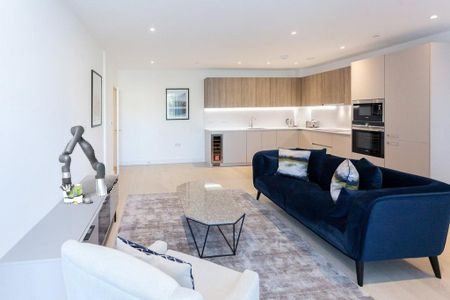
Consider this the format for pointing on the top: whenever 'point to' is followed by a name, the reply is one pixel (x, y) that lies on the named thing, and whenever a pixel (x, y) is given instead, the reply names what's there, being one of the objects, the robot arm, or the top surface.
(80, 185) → the tea box
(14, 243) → the top surface
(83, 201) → the plate
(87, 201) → the grey rounded-end block
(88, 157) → the robot arm
